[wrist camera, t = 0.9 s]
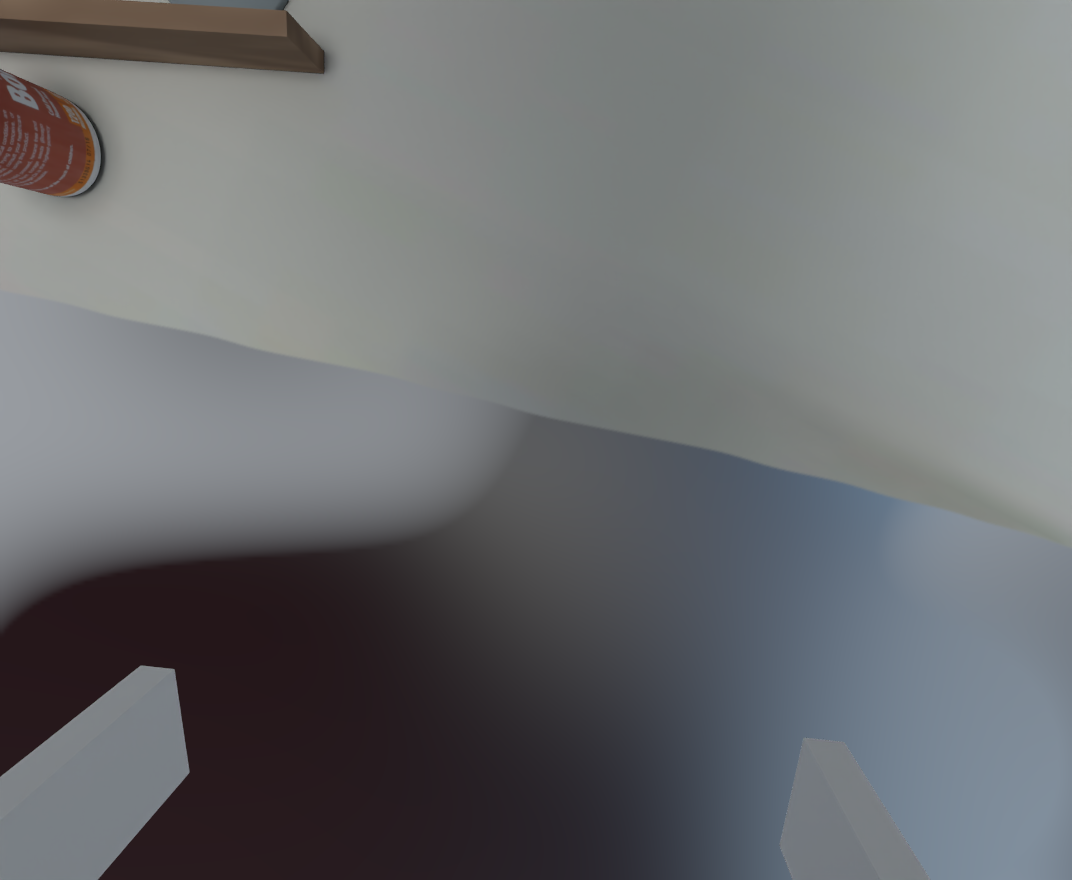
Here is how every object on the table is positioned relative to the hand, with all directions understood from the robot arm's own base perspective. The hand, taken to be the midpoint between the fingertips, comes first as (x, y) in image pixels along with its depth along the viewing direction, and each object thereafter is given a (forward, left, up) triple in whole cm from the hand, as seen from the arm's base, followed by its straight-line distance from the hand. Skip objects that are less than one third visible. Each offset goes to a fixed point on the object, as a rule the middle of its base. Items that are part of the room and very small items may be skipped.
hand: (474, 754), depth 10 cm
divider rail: (-23, -27, -25) cm, 43 cm away
